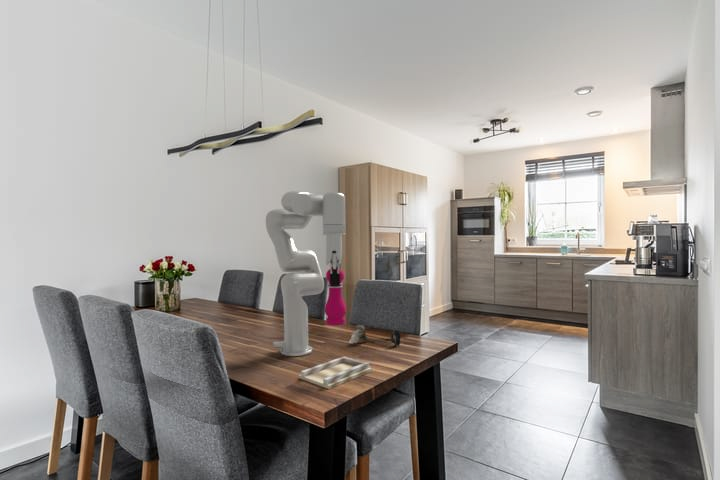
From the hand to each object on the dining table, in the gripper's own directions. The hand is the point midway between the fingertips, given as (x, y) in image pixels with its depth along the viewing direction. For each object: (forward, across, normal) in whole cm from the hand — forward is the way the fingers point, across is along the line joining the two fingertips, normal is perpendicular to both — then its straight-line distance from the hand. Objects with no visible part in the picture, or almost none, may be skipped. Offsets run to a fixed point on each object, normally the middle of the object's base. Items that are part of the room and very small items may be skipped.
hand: (335, 284), depth 127 cm
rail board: (+30, 0, 0) cm, 30 cm away
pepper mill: (+13, 0, 0) cm, 13 cm away
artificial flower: (+31, -35, +15) cm, 49 cm away
